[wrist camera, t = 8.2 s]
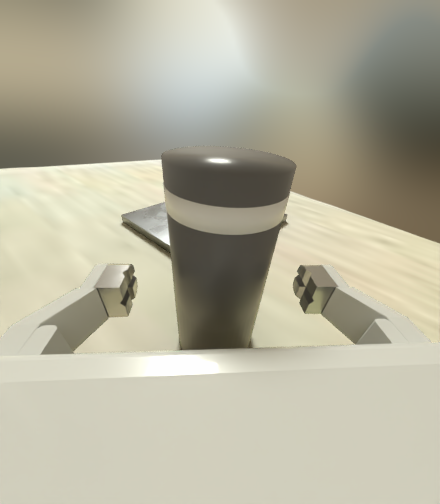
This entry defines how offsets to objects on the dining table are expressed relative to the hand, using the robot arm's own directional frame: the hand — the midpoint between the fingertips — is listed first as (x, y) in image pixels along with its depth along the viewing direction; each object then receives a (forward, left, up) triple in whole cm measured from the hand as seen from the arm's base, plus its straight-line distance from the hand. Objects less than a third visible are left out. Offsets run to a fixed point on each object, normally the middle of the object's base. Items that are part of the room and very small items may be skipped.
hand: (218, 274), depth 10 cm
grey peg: (+1, +1, -7) cm, 7 cm away
